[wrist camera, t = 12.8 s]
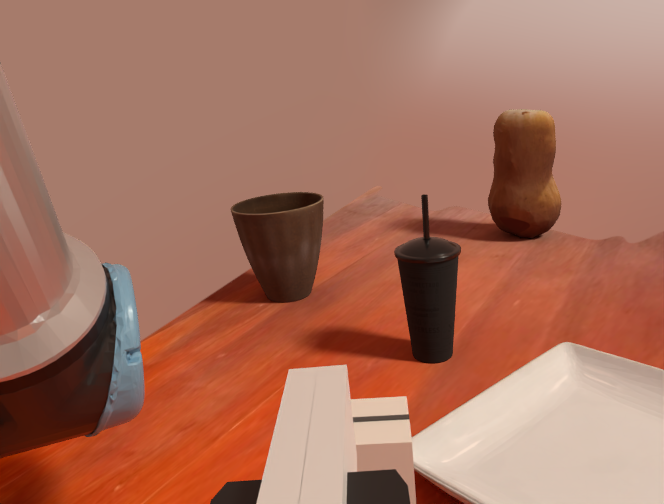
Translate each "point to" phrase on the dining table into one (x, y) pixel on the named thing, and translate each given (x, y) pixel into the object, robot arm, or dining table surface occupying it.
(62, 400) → the robot arm
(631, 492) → the square plate
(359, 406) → the fader tab
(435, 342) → the drinking cup
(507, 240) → the dining table surface
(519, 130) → the butternut squash
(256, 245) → the plant pot
